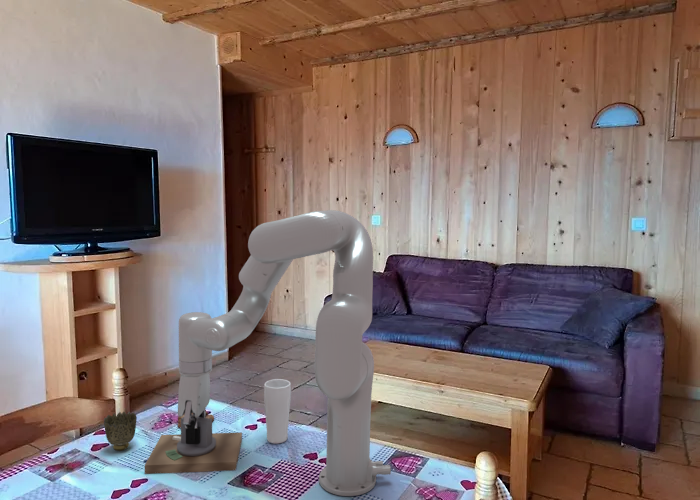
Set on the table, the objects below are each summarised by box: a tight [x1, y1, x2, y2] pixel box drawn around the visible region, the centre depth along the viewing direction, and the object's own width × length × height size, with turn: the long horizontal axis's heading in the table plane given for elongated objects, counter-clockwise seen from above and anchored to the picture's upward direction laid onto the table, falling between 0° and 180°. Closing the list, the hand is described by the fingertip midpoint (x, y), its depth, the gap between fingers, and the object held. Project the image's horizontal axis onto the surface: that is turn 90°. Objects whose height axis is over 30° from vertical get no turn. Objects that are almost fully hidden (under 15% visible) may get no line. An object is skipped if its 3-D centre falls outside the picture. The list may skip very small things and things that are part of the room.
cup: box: [103, 411, 138, 452], centre depth 125 cm, size 8×7×8 cm
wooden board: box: [144, 432, 243, 475], centre depth 123 cm, size 20×15×2 cm
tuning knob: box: [173, 417, 216, 456], centre depth 122 cm, size 11×9×7 cm
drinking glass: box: [263, 378, 292, 444], centre depth 131 cm, size 7×7×15 cm
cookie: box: [177, 411, 215, 429], centre depth 141 cm, size 10×11×3 cm
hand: (195, 438), depth 122 cm, fingers closed on tuning knob, 3 cm apart
